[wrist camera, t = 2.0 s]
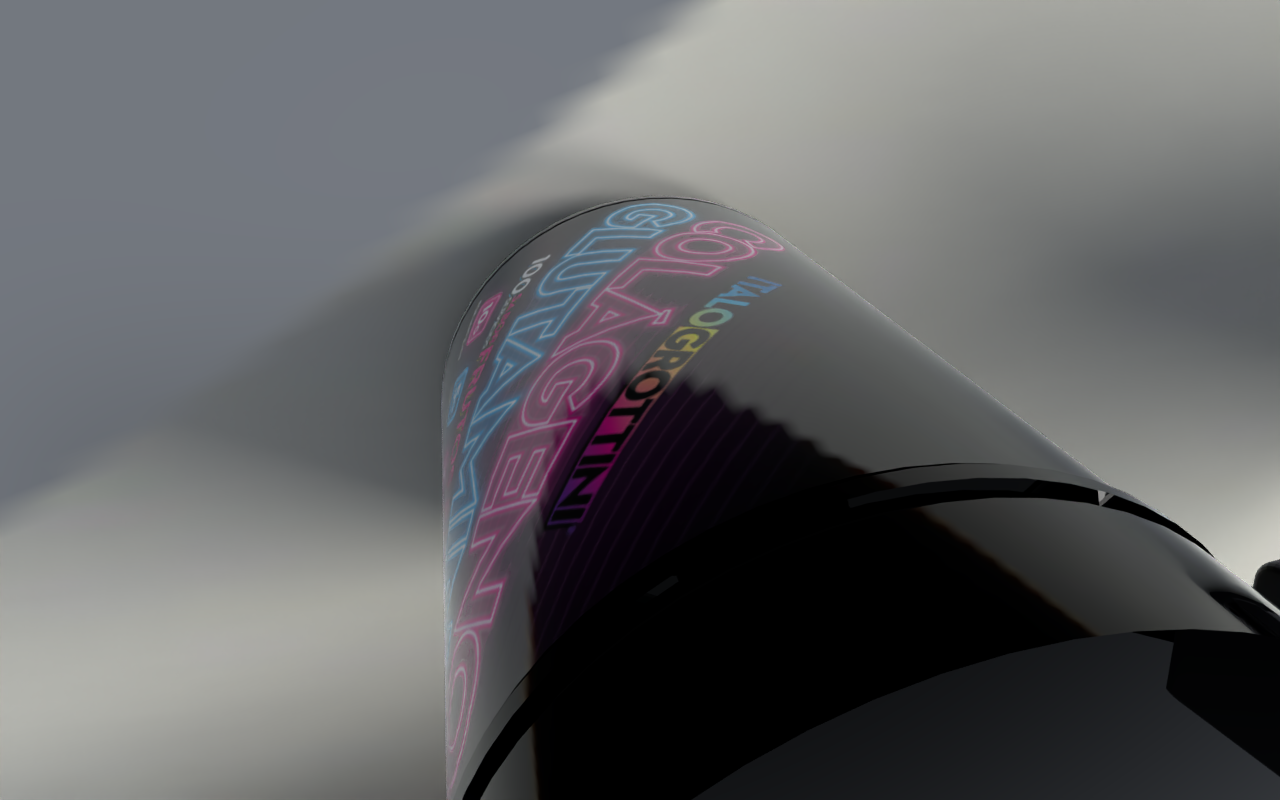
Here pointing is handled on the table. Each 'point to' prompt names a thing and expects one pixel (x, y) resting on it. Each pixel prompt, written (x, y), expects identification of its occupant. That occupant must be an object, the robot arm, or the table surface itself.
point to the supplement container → (801, 553)
